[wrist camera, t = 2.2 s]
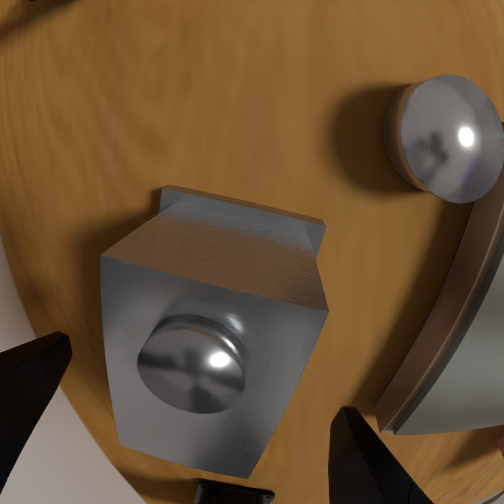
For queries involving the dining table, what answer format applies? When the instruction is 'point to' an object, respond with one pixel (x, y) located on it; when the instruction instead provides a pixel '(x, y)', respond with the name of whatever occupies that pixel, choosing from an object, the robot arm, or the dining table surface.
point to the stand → (458, 340)
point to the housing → (209, 327)
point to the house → (501, 444)
